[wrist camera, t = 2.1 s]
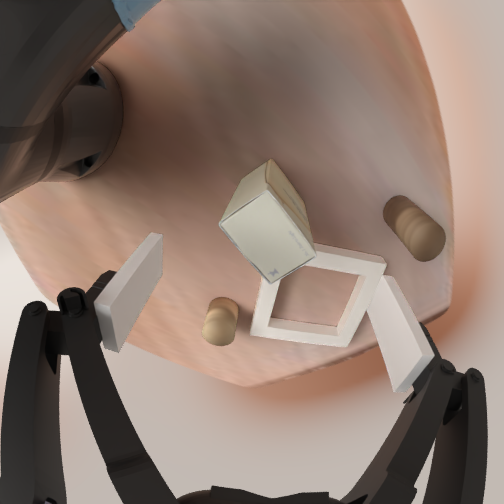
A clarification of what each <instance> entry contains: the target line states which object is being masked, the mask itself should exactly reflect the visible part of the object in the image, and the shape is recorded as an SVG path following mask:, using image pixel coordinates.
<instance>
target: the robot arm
mask: <svg viewBox="0 0 504 504" xmlns="http://www.w3.org/2000/svg"><path fill="white" fill-rule="evenodd" d="M160 1H161V0H0V203H1V202H2V201H4V200H6V199H8V198H9V197H11V196H13V195H15V194H16V193H18V192H20V191H22V190H24V189H25V188H27V187H29V186H31V185H33V184H35V183H37V182H68V181H73V180H77V179H79V178H82V177H84V176H86V175H88V174H90V173H92V172H93V171H95V170H96V169H98V168H99V167H100V166H101V165H102V164H103V163H104V162H105V161H106V160H107V159H108V157H109V156H110V154H111V153H112V151H113V149H114V147H115V145H116V143H117V140H118V138H119V135H120V131H121V126H122V120H123V102H122V96H121V92H120V89H119V86H118V84H117V81H116V80H115V78H114V76H113V75H112V73H111V72H110V71H109V70H108V69H107V68H106V67H105V66H103V65H102V64H100V63H98V62H96V61H97V60H98V59H99V58H100V57H101V56H102V55H103V54H104V53H105V52H106V51H107V50H108V49H109V48H110V47H111V46H112V45H113V44H114V43H115V42H116V41H117V40H118V39H119V38H120V37H121V36H122V35H124V34H125V33H126V32H127V31H128V32H130V31H131V30H132V29H133V28H134V27H135V23H136V22H137V21H139V20H140V19H141V18H142V17H143V16H144V15H145V14H146V13H147V12H148V11H149V10H150V9H152V8H153V7H154V6H155V5H156V4H157V3H158V2H160ZM162 255H163V234H158V233H153V232H150V234H149V235H148V236H147V237H146V238H145V239H144V241H143V242H142V243H141V244H140V245H139V246H138V248H137V249H136V250H135V251H134V252H133V254H132V255H131V256H130V257H129V258H128V260H127V261H126V262H125V263H124V264H123V266H122V267H121V268H120V269H119V271H118V272H115V271H111V270H109V271H107V272H105V273H103V274H102V275H101V276H100V277H99V278H98V279H97V280H96V282H95V283H94V284H93V285H92V287H91V288H90V289H89V290H88V291H87V292H86V293H85V292H84V290H82V289H80V288H76V287H72V288H67V289H64V290H63V291H62V292H60V293H59V295H58V297H57V302H58V305H59V309H60V311H49V310H48V309H47V306H46V304H45V303H43V302H42V301H34V302H31V303H28V304H27V305H26V306H25V307H24V309H23V311H22V314H21V317H20V321H19V325H18V328H17V332H16V336H15V340H14V345H13V349H12V354H11V358H10V363H9V369H8V374H7V381H6V388H5V395H4V403H3V413H2V427H1V477H0V504H67V499H66V498H67V497H66V489H65V481H64V474H63V466H62V456H61V444H60V425H59V384H60V381H59V380H60V364H61V355H69V357H70V361H71V365H72V369H73V373H74V376H75V380H76V384H77V387H78V391H79V394H80V397H81V400H82V403H83V407H84V410H85V413H86V415H87V418H88V421H89V424H90V426H91V429H92V432H93V435H94V437H95V440H96V442H97V445H98V447H99V449H100V452H101V454H102V457H103V459H104V461H105V463H106V466H107V472H108V474H109V477H110V479H111V481H112V483H113V485H114V487H115V489H116V491H117V493H118V495H119V496H120V498H121V500H122V502H123V503H124V504H411V503H412V501H413V499H414V498H415V495H416V493H417V489H416V488H414V484H415V482H416V480H417V478H418V476H419V474H420V472H421V470H422V468H423V466H424V464H425V461H426V459H427V457H428V455H429V452H430V450H431V448H432V445H433V443H434V440H435V438H436V440H435V447H434V453H433V459H432V464H431V470H430V475H429V480H428V484H427V488H426V493H425V496H424V500H423V504H483V497H484V490H485V481H486V468H487V445H488V444H487V443H488V442H487V441H488V429H487V406H486V393H485V383H484V378H483V376H482V374H481V372H479V370H477V369H474V368H470V369H468V370H467V372H466V373H465V374H463V373H460V372H456V369H455V367H454V366H453V364H452V363H451V362H449V361H447V360H445V359H442V358H441V356H440V354H439V352H438V350H437V348H436V346H435V344H434V342H433V340H432V338H431V337H430V334H429V332H428V330H427V329H426V327H425V326H424V325H423V324H422V323H421V322H418V321H417V319H416V317H415V315H414V313H413V311H412V309H411V308H410V306H409V304H408V302H407V300H406V299H405V297H404V295H403V293H402V291H401V290H400V288H399V286H398V284H397V283H396V281H395V279H394V278H393V277H392V276H387V275H382V277H381V280H380V282H379V284H378V286H377V288H376V291H375V293H374V295H373V297H372V299H371V301H370V303H369V306H368V308H367V313H368V316H369V318H370V321H371V324H372V327H373V329H374V332H375V335H376V338H377V341H378V344H379V347H380V350H381V352H382V356H383V359H384V362H385V365H386V368H387V371H388V374H389V377H390V380H391V384H392V387H393V391H394V392H406V391H407V390H408V389H409V388H410V386H411V385H413V388H414V391H413V392H412V393H411V394H410V395H409V397H408V398H407V399H406V400H405V401H404V402H403V403H406V404H405V406H404V408H403V410H402V412H401V414H400V416H399V417H398V419H397V421H396V423H395V425H394V426H393V428H392V430H391V432H390V434H389V435H388V437H387V438H386V440H385V442H384V443H383V445H382V447H381V448H380V450H379V452H378V453H377V455H376V456H375V458H374V459H373V461H372V462H371V464H370V465H369V466H368V468H367V469H366V471H365V472H364V474H363V475H362V476H361V478H360V479H359V481H358V482H357V483H356V485H355V486H354V487H353V489H352V490H351V491H350V492H349V493H348V494H347V495H346V496H345V497H344V498H342V499H341V500H340V501H339V500H337V499H333V498H330V497H329V492H311V493H298V494H294V495H289V496H284V497H279V498H268V497H264V496H260V495H257V494H254V493H251V492H248V491H245V490H241V489H233V488H224V487H218V486H212V487H211V490H202V491H196V492H192V493H189V494H186V495H183V496H181V497H179V498H177V499H176V498H175V496H174V495H173V493H172V492H171V490H170V489H169V487H168V486H167V484H166V482H165V481H164V479H163V478H162V476H161V474H160V473H159V471H158V469H157V468H156V466H155V464H154V463H153V461H152V459H151V458H150V456H149V455H148V453H147V452H146V450H145V448H144V446H143V444H142V442H141V441H140V439H139V437H138V435H137V433H136V431H135V429H134V427H133V425H132V423H131V421H130V419H129V416H128V414H127V412H126V410H125V408H124V405H123V403H122V401H121V399H120V396H119V394H118V392H117V389H116V387H115V384H114V382H113V379H112V377H111V374H110V372H109V369H108V366H107V364H106V361H105V358H104V355H103V352H102V350H101V347H100V343H101V341H103V345H104V348H105V349H108V350H112V351H115V352H118V353H119V352H120V350H121V348H122V346H123V344H124V342H125V340H126V338H127V336H128V335H129V333H130V331H131V329H132V327H133V325H134V323H135V322H136V320H137V318H138V316H139V314H140V313H141V311H142V309H143V307H144V305H145V304H146V302H147V300H148V298H149V297H150V295H151V293H152V291H153V290H154V288H155V286H156V285H157V283H158V281H159V279H160V278H161V276H162Z"/></svg>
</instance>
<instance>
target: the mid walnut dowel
mask: <svg viewBox="0 0 504 504" xmlns="http://www.w3.org/2000/svg"><path fill="white" fill-rule="evenodd" d="M383 217H384V220H385V222H386V223H387V224H388V226H389V227H390V228H391V229H392V230H393V231H394V233H395V234H396V235H397V236H398V238H399V239H400V240H401V241H402V242H403V244H404V245H405V246H406V247H407V249H408V250H409V251H410V252H411V254H412V255H413V256H414V258H415V259H417V260H419V261H422V262H426V261H430V260H432V259H434V258H435V257H437V256H438V255H439V254H440V252H441V251H442V249H443V247H444V245H445V240H446V236H445V232H444V230H443V228H442V227H441V226H440V225H439V224H438V223H437V222H435V221H434V220H433V219H432V218H431V217H430V216H428V215H427V214H426V213H425V212H424V211H423V210H421V209H420V208H419V207H418V206H417V205H415V204H414V203H413V202H412V201H410V200H409V199H408V198H407V197H405V196H395V197H393V198H391V199H390V200H389V201H388V202H387V203H386V205H385V207H384V210H383Z"/></svg>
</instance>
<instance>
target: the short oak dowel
mask: <svg viewBox="0 0 504 504" xmlns="http://www.w3.org/2000/svg"><path fill="white" fill-rule="evenodd" d="M238 312H239V309H238V306H237V304H236V303H235V302H234V301H233V300H231V299H229V298H225V297H219V298H216V299H214V300H212V301H211V303H210V305H209V308H208V312H207V315H206V319H205V322H204V326H203V330H202V335H203V337H204V339H205V340H206V341H207V342H209V343H211V344H213V345H216V346H225V345H228V344H230V343H232V342H233V340H234V337H235V331H236V324H237V318H238Z"/></svg>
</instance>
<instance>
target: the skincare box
mask: <svg viewBox="0 0 504 504" xmlns="http://www.w3.org/2000/svg"><path fill="white" fill-rule="evenodd" d="M219 227H220V228H221V229H222V231H223V232H224V233H225V234H226V235H227V237H228V238H229V239H230V240H231V241H232V243H233V244H234V245H235V246H236V247H237V249H238V250H239V251H240V252H241V253H242V255H243V256H244V257H245V258H246V259H247V260H248V261H249V262H250V263H251V265H252V266H253V267H254V268H255V269H256V270H257V271H258V272H259V274H260V275H261V276H262V277H263V278H264V279H265V280H266V281H267V282H268V284H270V285H271V284H273V283H275V282H277V281H278V280H280V279H282V278H284V277H285V276H287V275H289V274H291V273H292V272H294V271H295V270H297V269H299V268H301V267H302V266H304V265H305V264H307V263H308V262H310V261H312V260H313V259H315V258H316V256H317V255H316V251H315V247H314V243H313V238H312V234H311V230H310V225H309V221H308V217H307V212H306V208H305V204H304V202H303V200H302V199H301V197H300V196H299V194H298V193H297V191H296V190H295V188H294V187H293V186H292V184H291V183H290V182H289V180H288V179H287V177H286V176H285V175H284V173H283V172H282V171H281V170H280V168H279V167H278V166H277V164H276V163H275V162H274V160H273V159H270V160H268V161H267V162H265V163H264V164H262V165H261V166H259V167H258V168H256V169H255V170H254V171H252V172H251V173H249V174H248V175H247V176H245V177H244V178H243V179H241V181H240V183H239V185H238V187H237V188H236V190H235V192H234V194H233V196H232V198H231V200H230V202H229V204H228V206H227V208H226V210H225V212H224V214H223V216H222V218H221V220H220V222H219Z"/></svg>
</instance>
